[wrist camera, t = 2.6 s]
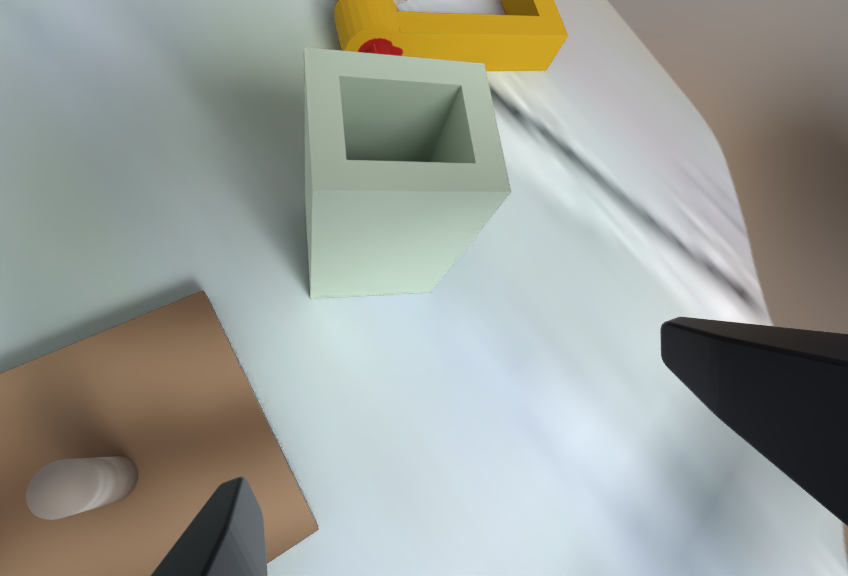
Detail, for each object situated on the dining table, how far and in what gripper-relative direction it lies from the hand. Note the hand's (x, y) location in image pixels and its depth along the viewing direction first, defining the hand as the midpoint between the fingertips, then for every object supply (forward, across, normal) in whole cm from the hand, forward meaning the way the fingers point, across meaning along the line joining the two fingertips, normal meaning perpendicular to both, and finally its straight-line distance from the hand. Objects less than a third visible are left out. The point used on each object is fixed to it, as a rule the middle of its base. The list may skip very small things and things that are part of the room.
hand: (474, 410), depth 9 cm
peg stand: (+10, +12, +5) cm, 16 cm away
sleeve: (+15, 0, 0) cm, 15 cm away
